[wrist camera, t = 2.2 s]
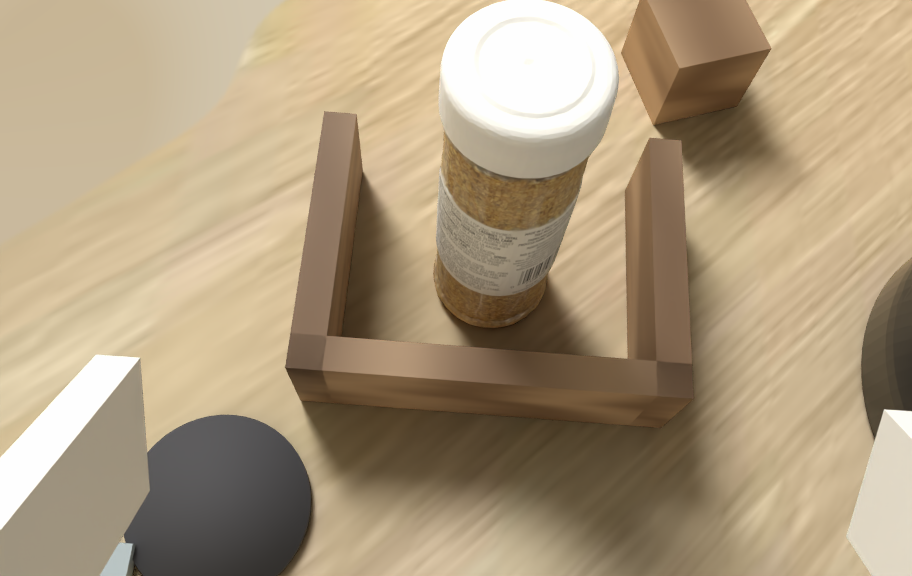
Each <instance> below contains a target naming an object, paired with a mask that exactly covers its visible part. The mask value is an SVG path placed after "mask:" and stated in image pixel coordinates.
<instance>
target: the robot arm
mask: <svg viewBox="0 0 912 576" xmlns="http://www.w3.org/2000/svg"><path fill="white" fill-rule="evenodd" d="M861 369H862V386H863V394H864V400H865V405H866V409H867V414H868V418H869V421H870V424H871V427H872V431H873V434H874V436H875V442H874V445H873V448H872V452H871V455H870V458H869V462H868V465H867V468H866V472H865V475H864V479H863V482H862V485H861V489H860V492H859V495H858V499H857V502H856V505H855V509H854V512H853V515H852V519H851V522H850V526H849V529H848V532H847V536H846V537H847V539H848V540H849V542H850V543H851V545H852V546H853V548H854V549H855V551H856V552H857V554H858V555H859V557H860V558H861V560H862V562H863V563H864V565H865V566H866V568H867V569H868V571H869V572H870V574H871V575H872V576H912V258H911V259H909V260H908V261H907V262H906V263H905V264H903V265H902V266H901V267H900V268H899V269H898V270H897V271H896V272H895V274H894V275H893V276H892V277H891V278H890V280H889V281H888V282H887V284H886V285H885V287H884V288H883V289H882V291H881V293H880V295H879V296H878V298H877V300H876V302H875V304H874V307H873V309H872V311H871V314H870V317H869V320H868V323H867V326H866V331H865V335H864V341H863V347H862V361H861ZM149 491H150V486H149V472H148V458H147V444H146V430H145V417H144V403H143V389H142V375H141V361H140V358H137V357H122V356H108V355H95V356H94V357H93V359H92V360H91V361H90V362H89V363H88V364H87V365H86V366H85V367H84V368H83V369H82V370H81V371H80V373H79V374H78V375H77V376H76V377H75V378H74V379H73V380H72V381H71V382H70V383H69V384H68V385H67V387H66V388H65V389H64V390H63V391H62V392H61V393H60V394H59V395H58V396H57V397H56V398H55V399H54V401H53V402H52V403H51V404H50V405H49V406H48V407H47V408H46V409H45V410H44V411H43V412H42V413H41V415H40V416H39V417H38V418H37V419H36V420H35V421H34V422H33V423H32V424H31V425H30V426H29V427H28V429H27V430H26V431H25V432H24V433H23V434H22V435H21V436H20V437H19V438H18V439H17V440H16V441H15V443H14V444H13V445H12V446H11V447H10V448H9V449H8V450H7V451H6V452H5V453H4V454H3V455H2V457H1V458H0V576H100V574H101V572H102V571H103V569H104V567H105V566H106V564H107V562H108V561H109V559H110V557H111V555H112V554H113V552H114V550H115V549H116V547H117V545H118V544H119V542H120V540H121V539H122V537H123V535H124V533H125V532H126V530H127V528H128V527H129V525H130V523H131V522H132V520H133V518H134V517H135V515H136V513H137V511H138V510H139V508H140V506H141V505H142V503H143V501H144V500H145V498H146V496H147V494H148V493H149Z"/></svg>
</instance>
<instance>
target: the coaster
mask: <svg viewBox="0 0 912 576" xmlns="http://www.w3.org/2000/svg"><path fill="white" fill-rule="evenodd" d="M134 550H135V544H130V543H119V544H118V545H117V547H116V549H115V550H114V552H113V554H112V555H111V557H110V559H109V561H108V562H107V564H106V566H105V567H104V569H103V571H102V572H101V574H100V576H132V574H133V569H134V564H135V563H134V562H133V555H134Z"/></svg>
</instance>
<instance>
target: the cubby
mask: <svg viewBox="0 0 912 576" xmlns="http://www.w3.org/2000/svg"><path fill="white" fill-rule="evenodd" d="M362 172H363V168H362V159H361V150H360V141H359V132H358V123H357V114H350V113H337V112H325V111H324V117H323V124H322V130H321V137H320V143H319V150H318V156H317V163H316V170H315V176H314V183H313V189H312V196H311V202H310V209H309V215H308V222H307V228H306V235H305V242H304V248H303V255H302V261H301V268H300V274H299V281H298V287H297V294H296V300H295V307H294V314H293V320H292V327H291V333H290V340H289V346H288V353H287V359H286V366H285V368H286V370H287V372H288V375H289V377H290V379H291V381H292V383H293V385H294V387H295V390H296V392H297V394H298V396H299V398H300V400H301V401H313V402H326V403H339V404H353V405H366V406H379V407H392V408H405V409H419V410H432V411H445V412H458V413H471V414H485V415H498V416H511V417H524V418H537V419H551V420H564V421H577V422H590V423H603V424H617V425H630V426H643V427H656V428H661V427H662V426H664V425H665V424H666V423H667V422H668V421H669V420H670V419H672V418H673V417H674V416H675V415H676V414H677V413H678V412H679V411H681V410H682V409H683V408H684V407H685V406H686V405H687V404H689V403H690V402H691V401H692V400H693V399H694V391H693V370H692V349H691V329H690V308H689V287H688V267H687V246H686V225H685V205H684V184H683V163H682V142H681V140H670V139H657V138H649V140H648V142H647V145H646V147H645V149H644V151H643V153H642V155H641V158H640V160H639V162H638V164H637V166H636V168H635V171H634V173H633V175H632V177H631V179H630V181H629V184H628V186H627V188H626V190H625V221H626V282H627V343H628V359H622V358H609V357H596V356H583V355H570V354H557V353H544V352H531V351H518V350H505V349H492V348H479V347H466V346H453V345H440V344H427V343H414V342H401V341H388V340H375V339H362V338H349V337H342V329H343V321H344V313H345V306H346V298H347V290H348V282H349V274H350V266H351V258H352V250H353V242H354V235H355V227H356V219H357V211H358V203H359V195H360V187H361V179H362Z"/></svg>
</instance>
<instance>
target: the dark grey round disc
mask: <svg viewBox="0 0 912 576" xmlns="http://www.w3.org/2000/svg"><path fill="white" fill-rule="evenodd" d="M147 458H148V472H149V486H150V491H149V493H148V494H147V496H146V498H145V500H144V501H143V503H142V505H141V506H140V508H139V510H138V511H137V513H136V515H135V517H134V518H133V520H132V522H131V523H130V525H129V527H128V528H127V530H126V532H125V533H124V538H125V542H126V543H130V544H135V550H134V555H133V562H134V563H135V565H136V567H137V568H138V570H139V571H140V572H141V573H142V575H143V576H278V575H279V574H280V573H281V572H282V571H283V570H284V569H285V568H286V566H287V565H288V564H289V563H290V561H291V560H292V559H293V557H294V556H295V554H296V552H297V551H298V549H299V547H300V545H301V543H302V541H303V539H304V536H305V533H306V530H307V527H308V523H309V518H310V513H311V489H310V484H309V479H308V475H307V472H306V469H305V466H304V465H303V463H302V461H301V459H300V457H299V455H298V453H297V452H296V451H295V449H294V448H293V446H292V445H291V444H290V443H289V442H288V441H287V440H286V438H285V437H284V436H282V435H281V434H280V433H279V432H277V431H276V430H275V429H273V428H271V427H270V426H268V425H266V424H264V423H262V422H260V421H257V420H255V419H251V418H248V417H244V416H237V415H216V416H208V417H204V418H200V419H197V420H194V421H191V422H188V423H186V424H184V425H182V426H180V427H178V428H176V429H175V430H173V431H172V432H170V433H169V434H167V435H166V436H164V437H163V438H162V439H161V440H160V441H158V442H157V443H156V444H155V445H154V446H153V447H152V448H151V449H150V450H149V451H148V453H147Z"/></svg>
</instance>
